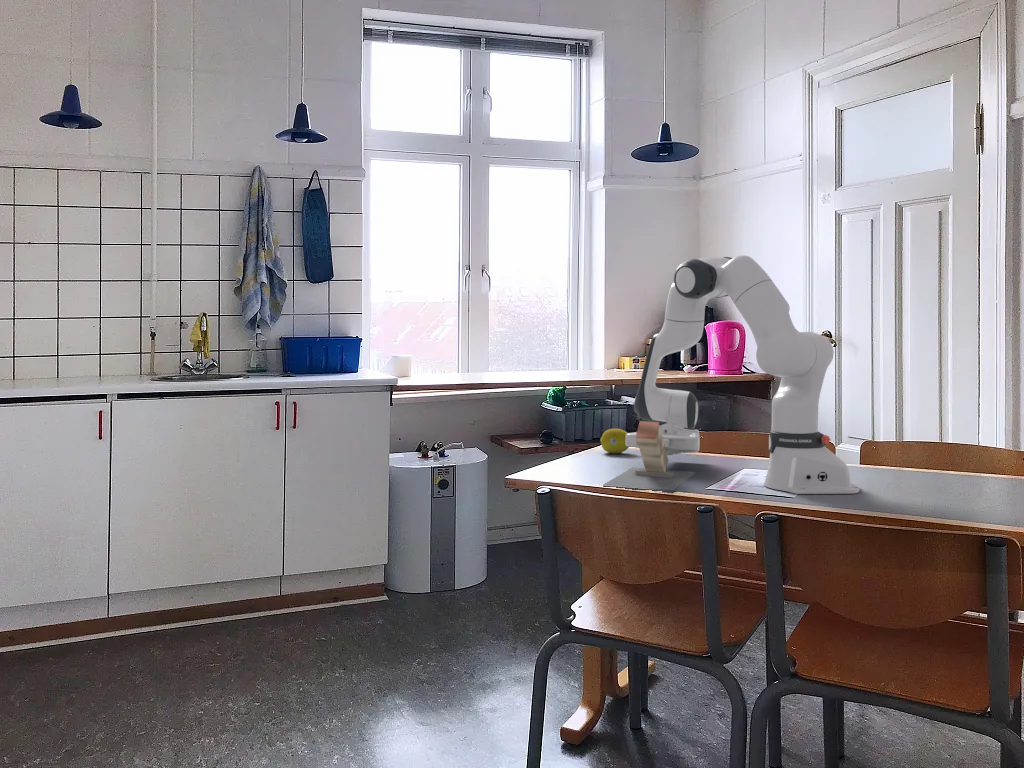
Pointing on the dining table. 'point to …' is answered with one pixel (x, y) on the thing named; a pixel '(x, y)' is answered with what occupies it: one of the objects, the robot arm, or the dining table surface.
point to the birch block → (652, 446)
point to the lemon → (614, 441)
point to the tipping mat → (650, 479)
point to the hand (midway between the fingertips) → (655, 444)
